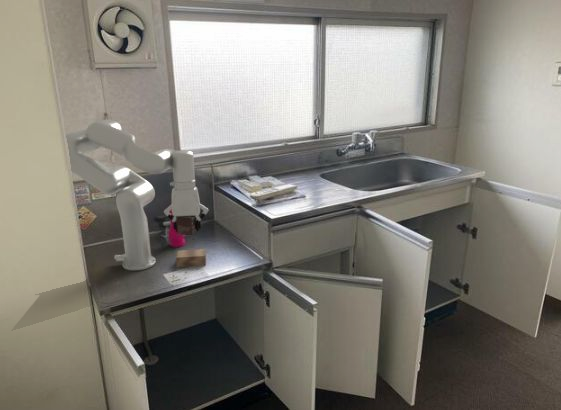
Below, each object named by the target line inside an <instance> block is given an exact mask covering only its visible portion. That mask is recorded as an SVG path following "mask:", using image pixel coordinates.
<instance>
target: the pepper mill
mask: <svg viewBox="0 0 561 410" xmlns="http://www.w3.org/2000/svg"><path fill="white" fill-rule="evenodd" d="M170 205H172V203H171V204H170ZM169 213H170V214H172V209H171V210H170V211H169ZM167 233H168V234H167V235H168V236H167V237H168V238H169V240H170V241H169V244H170V246H171V247H174V248H178V247H183V246H184V245H185V244H186V241H185V237H186V235H177V232H176V230H175V229H174V226H173V222H172V220H171V219H170V227H169V230H168V232H167Z"/></svg>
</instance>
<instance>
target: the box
mask: <svg viewBox="0 0 561 410" xmlns="http://www.w3.org/2000/svg"><path fill="white" fill-rule="evenodd" d="M176 221H177V235H185V236H188V237H189V236H190V237H193V236H194V235H195V234H197V232H198V231H197V218H196V217H195V216H176Z"/></svg>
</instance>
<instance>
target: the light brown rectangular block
mask: <svg viewBox="0 0 561 410" xmlns="http://www.w3.org/2000/svg"><path fill="white" fill-rule="evenodd" d="M206 251H207V249H206V248H200V249H196V248H195V249H183V250H177V253H176V256H175V260H176V262H175V263H176V268H184V267H199V266H206V264H207V263H206V262H207V252H206Z"/></svg>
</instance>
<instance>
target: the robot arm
mask: <svg viewBox="0 0 561 410" xmlns="http://www.w3.org/2000/svg"><path fill="white" fill-rule="evenodd" d="M65 134H66V138H67V143H68V149H69V156H70V164H71V171H72V172H71V171H70V172H71V173H72V174H75V175H76V176H78V177H80V179H82V180H84V182H86V183H88V184H89V185H91V186H92V187H93V188H95V189H97V190H98V191H99V192H101V193H102V194H104V195H107V196H108V195H109V196H110V195H114V194H116V193H117V195H116V198H115V199H116V200H115V202H116V203H115V204H116V207H117V210H118V214H119V219H120V224H121V230H122V239H123V246H124V253H123V254H114V260H115V261H116V263H119V262H122V264H121V265H122V267H123V269H124V270H126V271H127V270H128V271H131V272H132V271H135V272H136V271H142V270H146V269H149V268H151V267H153V266H154V265H156V263H157V260H156V258H155V256H153V255H152V252H151V242H150V231H149V224H148V223H149V222H148V217H147V215H146V213H145V210H144V207H146V206H147V205H148V204H150V203H151V202H152V201H153V200H155V199H154V198H155V196H156V192H155V191H156V190H155V188H154V186H153V185H152V184H151V183H150V182H149V181H148V180H146V179H145V178H144V177H142V176H140V175H139V174H137V173H136V172H135V171H133V170H132V169H130V168H129V167H126V166H125V165H124V166H123V165H114V166H111V167H107V166H105V165H104V164H103V163H101V162H99V161H98V160H96V158H92V157H90V156H87V155H85V154H87V153H91V152H93V151H95V150H99V149H100V148H103V149H106V150H108V151H110V152H113V153H115V154H118V155H120V156H121V157H123V158H124V159H125V160H126V161H127V162H128V163H129V164H130V165H131V166H132V167H135V168H137V169H139V170H141V171H144V172H146V173H149V174H152V175H160V174H162V173H164V172H166V171H169V170H172V175H173V181H171V182H169V186H170V187H172V190H171V204H172V205H171V204H170V205H169V206H168V207H167V208H165V209H164V211H163V214H165V216H167V218H168V219H170V221H171V220H172V222H173V226H174V229H175V230H176V232H177V221H176V216H195V217H196V218H197V232H199V231H200V229H202V219H203V218H205V216H206V215H207V214H208V212H209V208H208V207H206V206H205V205H203V204H202V203H201V202H200V195H199V189H198V187H197V186H196V178H195V177H196V176H195V175H196V174H195V173H196V172H195V160H194V158H195V157H194V153H193V151H190V150H185V149H183V150H176V149H171V148H162V149H160V150H157V151H155V152H152V151H150V150H147V149H145V148H142V147H141V146H139V145H138V144H136V137H135V135H134V134H131V133H130V132H127V131H125V130H123V129H122V127H121V125H120V124H119V122H117V121H116V120H114V119H109V118H107V119H102V120H97V121H93V122H92V123H89V125H88V126H87V128H86V129H82V130H78V131H74V132H69V133H65ZM171 209H172V214H170V213H169V211H170V210H171ZM201 210H202V212H201ZM200 213H201V214H200Z"/></svg>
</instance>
